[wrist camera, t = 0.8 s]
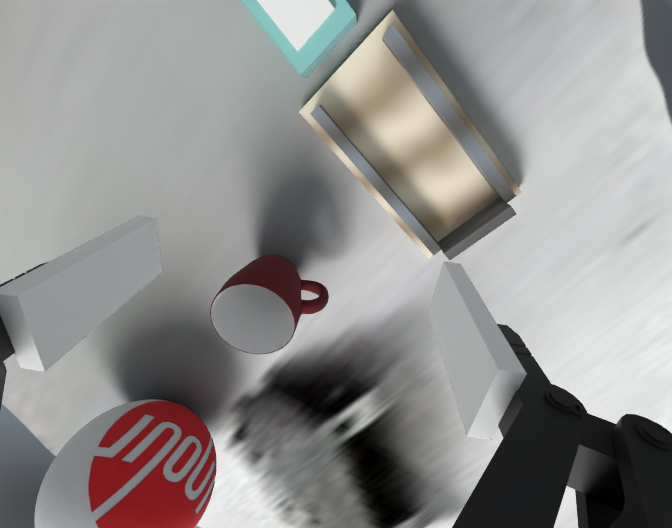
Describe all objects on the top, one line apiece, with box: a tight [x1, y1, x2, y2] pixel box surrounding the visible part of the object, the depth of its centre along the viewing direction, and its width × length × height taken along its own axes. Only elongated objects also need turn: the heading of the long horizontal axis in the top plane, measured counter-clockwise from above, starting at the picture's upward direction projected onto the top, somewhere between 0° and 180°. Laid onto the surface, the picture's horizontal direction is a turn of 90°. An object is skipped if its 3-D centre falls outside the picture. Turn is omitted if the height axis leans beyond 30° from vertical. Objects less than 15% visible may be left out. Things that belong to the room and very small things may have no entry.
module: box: [240, 0, 357, 78], centre depth 26 cm, size 7×6×4 cm
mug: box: [210, 256, 329, 354], centre depth 35 cm, size 10×8×10 cm
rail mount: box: [299, 10, 521, 260], centre depth 30 cm, size 20×11×4 cm, turn 43°
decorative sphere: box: [35, 399, 216, 528], centre depth 43 cm, size 20×20×20 cm
